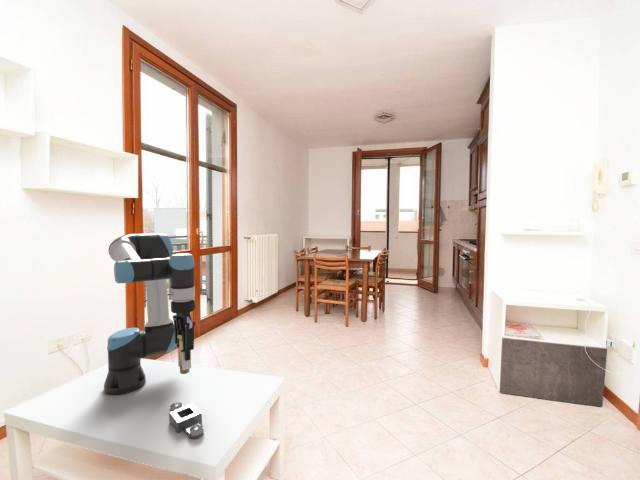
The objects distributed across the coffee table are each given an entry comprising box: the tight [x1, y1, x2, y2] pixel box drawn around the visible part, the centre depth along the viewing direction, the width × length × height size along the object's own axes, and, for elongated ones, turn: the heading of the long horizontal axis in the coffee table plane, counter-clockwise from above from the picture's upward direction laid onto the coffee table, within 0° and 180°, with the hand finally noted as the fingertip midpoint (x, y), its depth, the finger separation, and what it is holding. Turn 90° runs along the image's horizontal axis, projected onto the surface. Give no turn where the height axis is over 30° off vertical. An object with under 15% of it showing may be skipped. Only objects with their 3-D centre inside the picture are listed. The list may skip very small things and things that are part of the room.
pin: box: [177, 334, 191, 375], centre depth 110 cm, size 4×4×13 cm
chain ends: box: [168, 401, 205, 440], centre depth 111 cm, size 22×8×4 cm, turn 43°
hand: (184, 366), depth 110 cm, fingers closed on pin, 3 cm apart
